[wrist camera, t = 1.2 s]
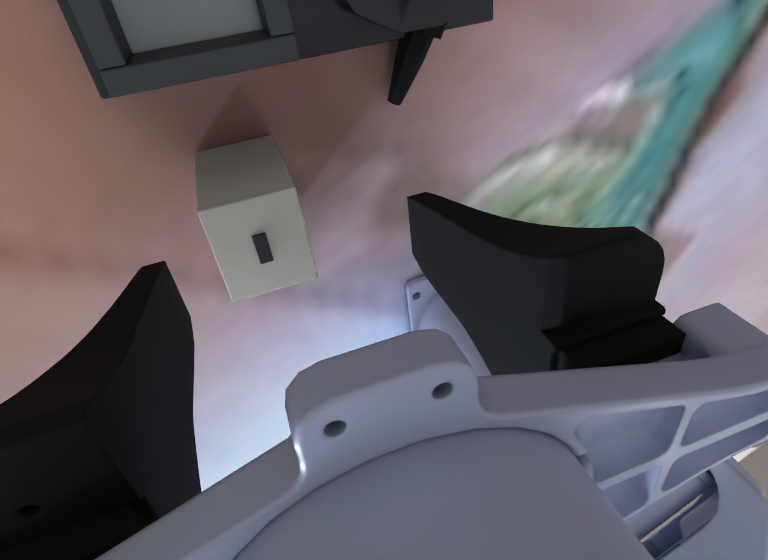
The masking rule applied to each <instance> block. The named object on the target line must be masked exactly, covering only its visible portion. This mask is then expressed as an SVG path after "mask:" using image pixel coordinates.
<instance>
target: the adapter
mask: <svg viewBox="0 0 768 560" xmlns="http://www.w3.org/2000/svg"><path fill="white" fill-rule="evenodd" d="M57 1H58V3H59V6H60V8H61V10H62V12H63V14H64V17H65V19H66V21H67V23H68V25H69V28H70V30H71V32H72V34H73V36H74V39H75V41H76V43H77V45H78V47H79V50H80V52H81V54H82V56H83V58H84V61H85V63H86V65H87V67H88V69H89V72H90V74H91V76H92V78H93V80H94V83H95V85H96V87H97V89H98V91H99V94H100V96H101V98H102V99H107V98H111V96H110V94H109V92H108V90H107V88H106V85H105V83H104V81H103V79H102V76H101V74H100V70H101V69H99V68H98V67H97V65H96V63H95V60H94V58H93V56H92V54H91V51H90V49H89V47H88V45H87V42H86V40H85V38H84V36H83V33H82V31H81V29H80V27H79V24H78V22H77V20H76V18H75V15H74V13H73V11H72V9H71V6H70V4H69V2H68V0H57ZM289 3H290V8H291V13H292V18H293V23H294V28H295V32H294V33H295V34H296V37H297V42H298V47H299V52H300V56H301V57H300V59H304V58H309V57H314V56H319V55H324V54H329V53H334V52H339V51H343V50H348V49H353V48H358V47H363V46H368V45H373V44H378V43H383V42H388V41H393V40H398V39H403V38H404V35H405V33H406V32H411V31H416V30H421V29H426V28H431V27H436V26H441V25H444V23H446V22H447V24H446V26H445V29H444V30H447V29H452V28H457V27H462V26H467V25H472V24H477V23H482V22H487V21H491V20H492V19H493V0H289ZM453 16H454V17H453ZM452 17H453V18H452Z"/></svg>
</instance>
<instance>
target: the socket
mask: <svg viewBox="0 0 768 560" xmlns="http://www.w3.org/2000/svg"><path fill="white" fill-rule="evenodd" d="M68 2H69V4H70V6H71V9H72V11H73V13H74V15H75V18H76V20H77V22H78V24H79V27H80V29H81V31H82V33H83V36H84V38H85V40H86V42H87V45H88V47H89V49H90V51H91V54H92V56H93V58H94V60H95V63H96V65H97V67H98V68H99V69H101V70H100V74H101V76H102V79H103V81H104V83H105V85H106V88H107V90H108V92H109V94H110V96H111V97H119V96H124V95H128V94H133V93H138V92H143V91H148V90H153V89H158V88H163V87H168V86H173V85H178V84H183V83H188V82H193V81H198V80H202V79H207V78H212V77H217V76H222V75H227V74H232V73H237V72H242V71H247V70H252V69H257V68H262V67H267V66H272V65H276V64H281V63H286V62H291V61H296V60H299V59H300V57H301V56H300V52H299V47H298V42H297V37H296V34H295V33H294V32H295V28H294V23H293V18H292V13H291V8H290V3H289V0H68Z"/></svg>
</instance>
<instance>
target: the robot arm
mask: <svg viewBox="0 0 768 560" xmlns="http://www.w3.org/2000/svg"><path fill="white" fill-rule="evenodd" d="M407 200H408V211H409V221H410V232H411V243H412V253H413V255H414V257H415V259H416V261H417V262H418V264H419V266H420V268H421V270H422V272H423V273H424V275H425V276H423V277H420V278H416V279H413V280H411V281H410V282H408V284H407V285H406V293H407V302H408V311H409V319H410V328H411V332H408V333H405V334H402V335H399V336H396V337H393V338H390V339H386V340H383V341H380V342H377V343H374V344H371V345H368V346H365V347H362V348H359V349H355V350H352V351H349V352H346V353H343V354H340V355H337V356H334V357H331V358H327V359H324V360H321V361H319V362H317V363H315V364H313V365H312V366H310V367H308V368H306V369H304V370H302V371H300V372H299V373H298V374H297V375H296V377H295V378H294V379H293V381H292V382H291V383H290V384H289V386H288V387H287V388H286V395H285V408H286V413H287V417H288V422H289V426H290V431H291V435H290V436H289V438H287V439H285V440H284V441H282V442H281V443H279V444H277V445H276V446H274V447H273V448H271V449H269V450H268V451H266V452H265V453H263V454H261V455H260V456H258V457H257V458H255V459H254V460H252V461H250V462H249V463H247V464H246V465H244V466H242V467H241V468H239V469H238V470H236V471H234V472H233V473H231V474H230V475H228V476H227V477H225V478H223V479H222V480H220V481H219V482H217V483H215V484H214V485H212V486H211V487H209V488H207V489H206V490H204V491H203V492H201V486H200V478H199V470H198V462H197V453H196V444H195V434H194V424H193V387H194V338H193V330H192V323H191V317H190V314H189V312H188V310H187V308H186V306H185V304H184V301H183V299H182V297H181V295H180V293H179V290H178V288H177V286H176V284H175V282H174V280H173V277H172V275H171V273H170V271H169V269H168V267H167V264H166V262H165V261H162V262H158V263H154V264H150V265H147V266H143V267H141V268H140V270H139V271H138V272H137V273H136V275H135V276H134V277H133V279H132V280H131V281H130V283H129V284H128V285H127V287H126V288H125V289H124V291H123V292H122V293H121V295H120V296H119V297H118V299H117V300H116V301H115V303H114V304H113V305H112V306H111V308H110V309H109V310H108V311H107V312H106V314H105V315H104V316H103V317H102V318H101V319H100V321H99V322H98V323H97V324H96V325H95V326H94V328H93V329H92V330H91V331H90V332H89V333H88V334H87V335H86V336H85V337H84V338H83V339H82V340H81V341H80V342H79V343H78V344H77V345H76V346H75V347H74V348H73V349H72V350H71V351H70V352H69V353H68V354H67V355H65V356H64V357H63V358H62V359H61V360H60V361H58V362H57V363H56V364H55V365H53V366H52V367H51V368H50V369H49V370H47V371H46V372H45V373H44V374H42V375H41V376H40V377H39V378H37V379H36V380H35V381H33V382H32V383H31V384H29V385H28V386H27V387H25V388H24V389H22V390H21V391H20V392H18V393H17V394H15V395H14V396H12V397H11V398H9V399H8V400H6V401H5V402H3V403H2V404H0V560H768V501H767V500H766V499H765V498H764V496H765V489H764V487H763V486H762V485H761V484H760V483H759V482H758V481H757V480H756V479H755V478H754V477H753V476H752V475H751V474H749V473H748V472H747V471H746V470H745V469H744V468H743V467H742V466H741V465H740V464H739V463H738V462H737V461H736V460H735V459H734V458H733V456H735V455H736V454H738V453H740V452H742V451H745V450H747V449H749V448H751V447H753V446H755V445H757V444H759V443H762V442H764V441H766V440H768V335H766V334H765V333H764V332H762V331H761V330H759V329H758V328H756V327H755V326H753V325H752V324H750V323H749V322H747V321H746V320H744V319H743V318H741V317H740V316H738V315H737V314H735V313H734V312H732V311H731V310H729V309H728V308H726V307H725V306H723V305H722V304H720V303H714V304H711V305H708V306H705V307H703V308H700V309H697V310H694V311H691V312H689V313H686V314H684V315H682V316H680V317H679V318H678V319H677V320H676V321H675V322H674V323H673V324H672V323H671V322H670V321H669V320H667V319H666V318H665V317H663V316H662V315H664V314H665V311H666V310H665V308H664V306H662V305H661V304H660V303H658V302H657V301H656V300H655V298H656V294H657V290H658V287H659V283H660V280H661V276H662V273H663V267H664V260H665V258H664V252H663V249H662V247H661V245H660V244H659V242H657V241H656V240H654V239H653V238H651V237H650V236H648V235H646V234H645V233H643V232H642V231H640V230H639V229H637V228H636V227H634V226H631V227H610V228H573V227H559V226H549V225H540V224H534V223H528V222H523V221H518V220H512V219H508V218H504V217H500V216H497V215H493V214H490V213H486V212H483V211H480V210H477V209H474V208H471V207H468V206H465V205H463V204H460V203H457V202H454V201H452V200H449V199H446V198H444V197H441V196H438V195H435V194H432V193H428V192H424V193H420V194H416V195H412V196H409V197H407ZM417 292H418V294H417V295H415V296H413V295H414V294H415V293H417ZM700 494H702V495H701V496H700V497H699V498H698V499H697V500H696V502H695V503H694V504H693V505H692V506H690V507H689V508H688V509H686V510H685V511H684V512H682V513H681V514H680V515H678V516H677V517H676V518H674V519H673V520H672V521H670V522H669V523H668V524H666V525H665V526H664V527H662V528H661V529H660V530H659V531H657V532H656V533H654V534H653V535H652V536H650V537H649V538H648V539H647V540H645V541H644V542H643V543H641V541H640V540H641V539H642V538H644V537H645V536H646V535H647V534H649V533H650V532H651V531H653V530H654V529H655V528H657V527H658V526H659V525H661V524H662V523H663V522H665V521H666V520H667V519H669V518H670V517H671V516H673V515H674V514H675V513H677V512H678V511H679V510H680V509H682V508H683V507H685V506H686V505H687V504H689V503H690V502H691V501H693V500H694V499H695V498H696V497H697V496H699V495H700Z"/></svg>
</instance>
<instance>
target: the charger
mask: <svg viewBox="0 0 768 560" xmlns="http://www.w3.org/2000/svg"><path fill="white" fill-rule="evenodd" d="M194 161H195V178H196V196H197V213H198V215H199V218H200V220H201V223H202V225H203V228H204V230H205V233H206V236H207V238H208V241H209V243H210V246H211V248H212V251H213V253H214V256H215V258H216V261H217V263H218V266H219V269H220V271H221V274H222V276H223V279H224V281H225V284H226V286H227V289H228V291H229V294H230V297H231V299H232V301H233V302H237V301H240V300H244V299H247V298H251V297H254V296H257V295H261V294H264V293H268V292H271V291H274V290H278V289H281V288H285V287H288V286H291V285H295V284H298V283H302V282H305V281H309V280H312V279H315V278H318V275H317V271H316V267H315V263H314V259H313V255H312V251H311V247H310V243H309V239H308V235H307V231H306V227H305V223H304V218H303V214H302V210H301V206H300V202H299V198H298V194H297V190H296V187H295V185H294V183H293V180H292V178H291V176H290V174H289V172H288V170H287V168H286V165H285V163H284V161H283V159H282V157H281V155H280V153H279V150H278V148H277V146H276V144H275V142H274V140H273V138H272V136H271V135H268V136H264V137H260V138H255V139H251V140H247V141H242V142H238V143H233V144H229V145H225V146H220V147H216V148H212V149H207V150H203V151H199V152H195V153H194Z"/></svg>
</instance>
